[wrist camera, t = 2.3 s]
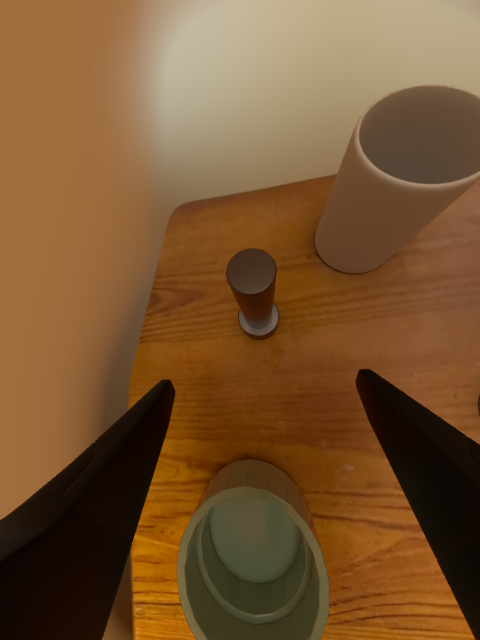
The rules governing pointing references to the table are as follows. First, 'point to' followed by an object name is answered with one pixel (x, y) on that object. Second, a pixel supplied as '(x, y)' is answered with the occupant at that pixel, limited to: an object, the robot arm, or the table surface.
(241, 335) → the table surface
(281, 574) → the bowl
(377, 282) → the table surface
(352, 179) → the mug
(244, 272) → the muddler
